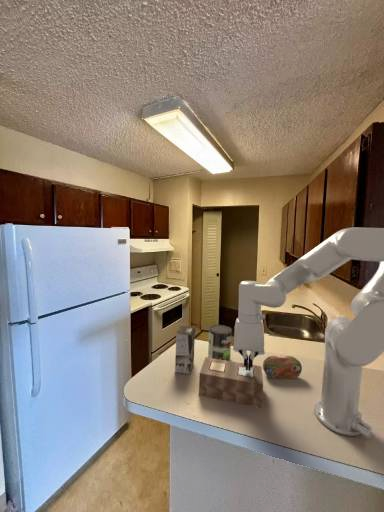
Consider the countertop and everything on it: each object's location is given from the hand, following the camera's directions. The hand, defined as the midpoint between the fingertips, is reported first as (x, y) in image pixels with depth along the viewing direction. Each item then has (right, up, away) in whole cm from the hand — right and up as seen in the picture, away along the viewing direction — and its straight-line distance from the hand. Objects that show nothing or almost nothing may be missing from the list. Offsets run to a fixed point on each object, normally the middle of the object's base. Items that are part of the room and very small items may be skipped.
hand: (248, 368), depth 79 cm
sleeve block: (-6, -9, +2) cm, 11 cm away
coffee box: (-23, -8, +16) cm, 29 cm away
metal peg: (-1, -9, +1) cm, 9 cm away
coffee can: (-7, -8, +24) cm, 26 cm away
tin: (+16, -10, +12) cm, 22 cm away
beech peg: (-11, -8, +3) cm, 14 cm away
